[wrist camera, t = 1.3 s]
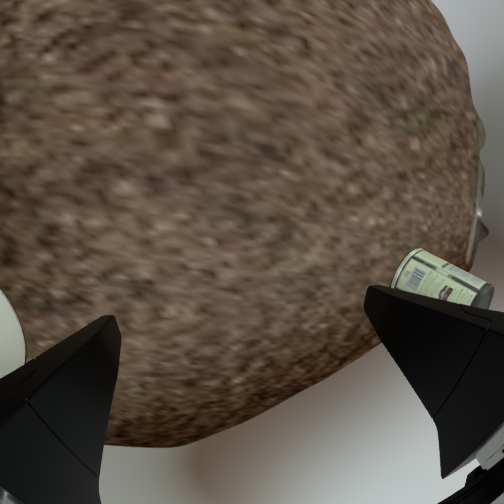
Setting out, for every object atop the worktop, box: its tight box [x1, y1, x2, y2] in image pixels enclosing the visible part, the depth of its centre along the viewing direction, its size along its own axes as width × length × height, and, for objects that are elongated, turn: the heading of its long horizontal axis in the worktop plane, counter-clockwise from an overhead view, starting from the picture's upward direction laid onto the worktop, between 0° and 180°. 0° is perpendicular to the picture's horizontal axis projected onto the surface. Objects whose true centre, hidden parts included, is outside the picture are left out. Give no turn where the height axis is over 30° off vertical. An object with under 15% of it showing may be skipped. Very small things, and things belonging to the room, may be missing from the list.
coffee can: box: [391, 248, 494, 309], centre depth 39 cm, size 10×10×14 cm
